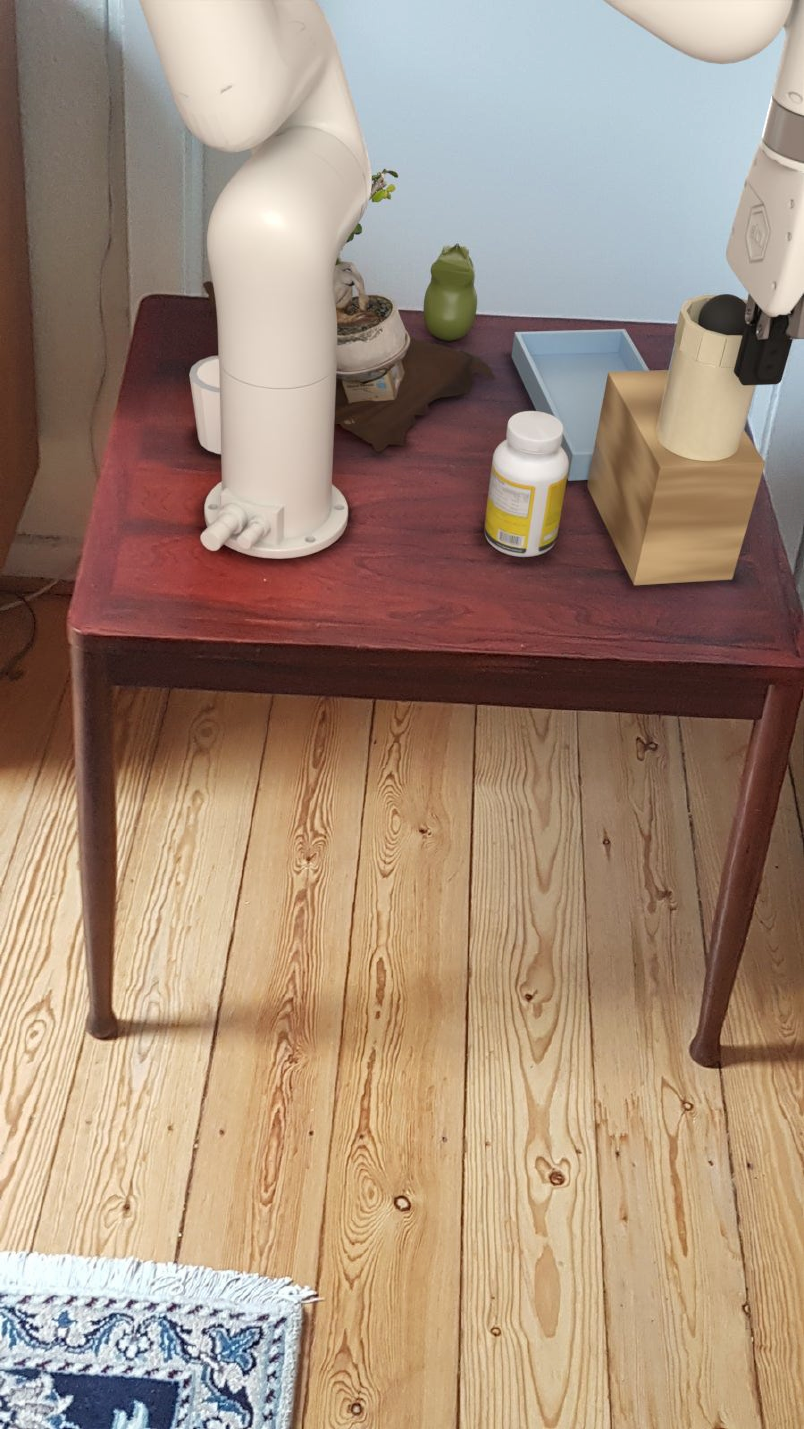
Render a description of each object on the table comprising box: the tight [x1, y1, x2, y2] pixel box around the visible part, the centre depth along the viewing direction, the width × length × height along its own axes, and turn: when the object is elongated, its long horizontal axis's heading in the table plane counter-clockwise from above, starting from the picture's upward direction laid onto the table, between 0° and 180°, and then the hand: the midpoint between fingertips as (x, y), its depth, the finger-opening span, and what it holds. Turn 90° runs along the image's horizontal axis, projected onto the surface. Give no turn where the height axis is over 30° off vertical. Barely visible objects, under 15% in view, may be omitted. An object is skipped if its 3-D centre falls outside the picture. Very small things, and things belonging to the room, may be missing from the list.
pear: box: [422, 242, 478, 342], centre depth 149 cm, size 6×5×10 cm
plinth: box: [586, 369, 766, 586], centre depth 125 cm, size 15×9×12 cm, turn 10°
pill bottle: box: [483, 410, 569, 558], centre depth 123 cm, size 6×6×12 cm
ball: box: [698, 293, 750, 336], centre depth 111 cm, size 4×4×4 cm
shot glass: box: [188, 355, 221, 455], centre depth 133 cm, size 7×7×7 cm
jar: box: [655, 294, 757, 461], centre depth 115 cm, size 7×7×11 cm
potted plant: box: [202, 168, 496, 452], centre depth 138 cm, size 20×19×25 cm
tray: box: [510, 328, 650, 482], centre depth 142 cm, size 23×12×3 cm, turn 10°
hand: (756, 378), depth 107 cm, fingers closed
